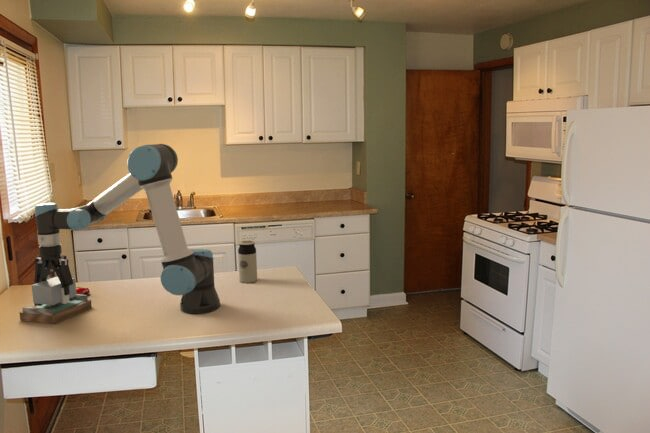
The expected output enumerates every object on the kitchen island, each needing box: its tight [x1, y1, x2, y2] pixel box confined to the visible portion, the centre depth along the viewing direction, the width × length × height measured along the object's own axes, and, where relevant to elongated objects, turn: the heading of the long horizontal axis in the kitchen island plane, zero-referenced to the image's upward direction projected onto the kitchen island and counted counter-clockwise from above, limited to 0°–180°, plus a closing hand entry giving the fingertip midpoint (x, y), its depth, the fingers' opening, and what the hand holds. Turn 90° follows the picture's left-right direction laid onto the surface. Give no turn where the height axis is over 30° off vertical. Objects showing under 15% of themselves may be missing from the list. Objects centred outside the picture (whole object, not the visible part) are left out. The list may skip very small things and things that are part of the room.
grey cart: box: [31, 277, 77, 308], centre depth 210 cm, size 9×12×8 cm
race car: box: [76, 286, 91, 296], centre depth 230 cm, size 13×5×4 cm, turn 156°
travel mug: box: [237, 239, 258, 284], centre depth 249 cm, size 8×8×18 cm
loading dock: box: [18, 294, 93, 325], centre depth 211 cm, size 16×19×5 cm
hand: (55, 301), depth 211 cm, fingers closed on grey cart, 9 cm apart
